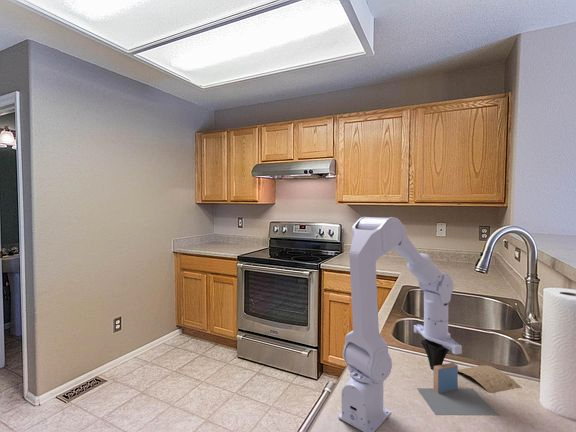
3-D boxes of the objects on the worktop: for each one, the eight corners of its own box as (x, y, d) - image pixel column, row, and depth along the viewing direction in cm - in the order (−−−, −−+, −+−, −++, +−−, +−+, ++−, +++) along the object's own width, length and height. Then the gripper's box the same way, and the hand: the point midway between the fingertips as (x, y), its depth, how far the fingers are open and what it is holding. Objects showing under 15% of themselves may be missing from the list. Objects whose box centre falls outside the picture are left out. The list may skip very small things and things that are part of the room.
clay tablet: (526, 394, 76) (526, 383, 76) (496, 402, 73) (496, 390, 73) (474, 366, 90) (474, 357, 90) (447, 372, 87) (447, 362, 87)
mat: (435, 416, 67) (435, 414, 67) (416, 389, 77) (416, 388, 77) (499, 416, 67) (499, 414, 67) (472, 390, 77) (472, 388, 77)
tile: (438, 393, 75) (438, 369, 75) (433, 389, 77) (433, 366, 77) (458, 389, 77) (458, 365, 77) (452, 385, 78) (452, 362, 78)
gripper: (472, 326, 74) (471, 381, 74) (428, 307, 88) (428, 354, 88) (448, 329, 72) (448, 386, 72) (407, 310, 86) (407, 358, 86)
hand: (435, 369), depth 80 cm, fingers closed
